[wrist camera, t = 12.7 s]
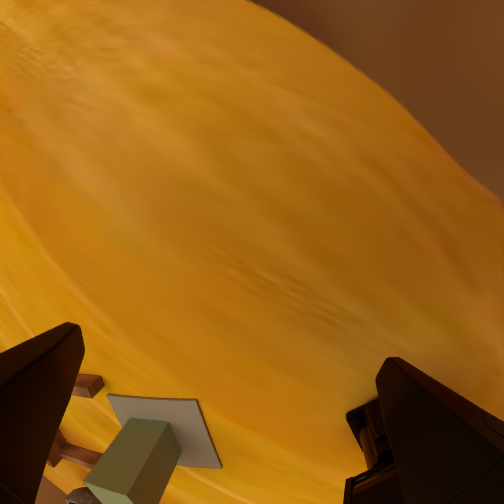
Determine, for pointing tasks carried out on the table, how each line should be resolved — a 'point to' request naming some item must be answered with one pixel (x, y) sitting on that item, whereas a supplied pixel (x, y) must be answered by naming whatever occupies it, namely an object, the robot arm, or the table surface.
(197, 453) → the felt mat
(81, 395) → the frame
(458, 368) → the table surface
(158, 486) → the green block
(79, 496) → the mortar and pestle
